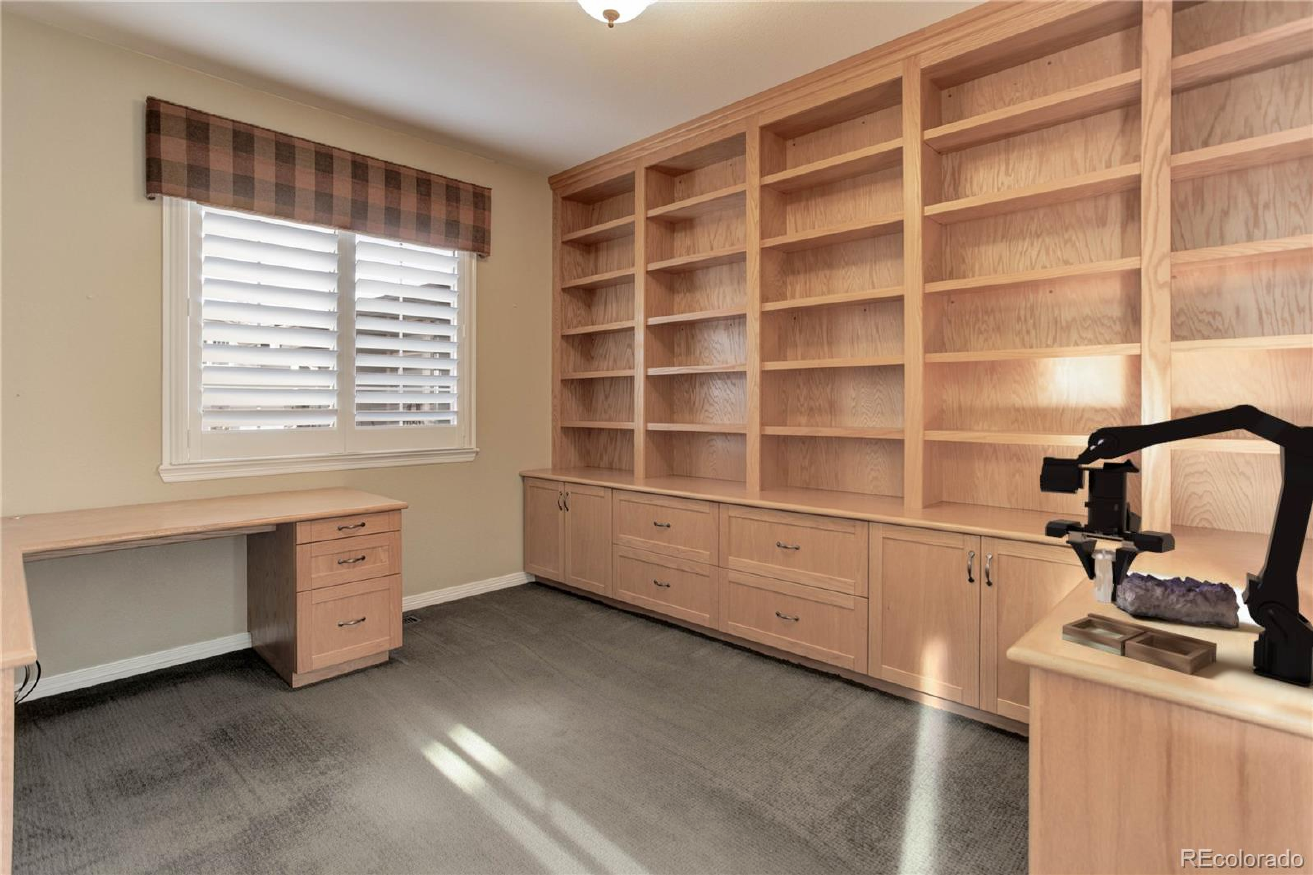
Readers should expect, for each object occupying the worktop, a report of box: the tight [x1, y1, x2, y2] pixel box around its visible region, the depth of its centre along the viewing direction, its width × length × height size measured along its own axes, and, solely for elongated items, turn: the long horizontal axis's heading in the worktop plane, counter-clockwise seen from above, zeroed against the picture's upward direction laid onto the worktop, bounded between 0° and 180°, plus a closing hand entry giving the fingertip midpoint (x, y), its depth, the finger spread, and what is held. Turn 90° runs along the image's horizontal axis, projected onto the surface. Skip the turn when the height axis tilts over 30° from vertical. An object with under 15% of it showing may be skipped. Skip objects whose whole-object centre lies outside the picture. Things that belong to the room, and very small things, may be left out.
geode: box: [1112, 571, 1241, 630], centre depth 130 cm, size 20×12×10 cm, turn 61°
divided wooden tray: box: [1061, 612, 1218, 675], centre depth 113 cm, size 19×11×3 cm, turn 32°
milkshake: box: [1092, 548, 1119, 604], centre depth 116 cm, size 4×5×10 cm
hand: (1105, 582), depth 116 cm, fingers closed on milkshake, 4 cm apart
